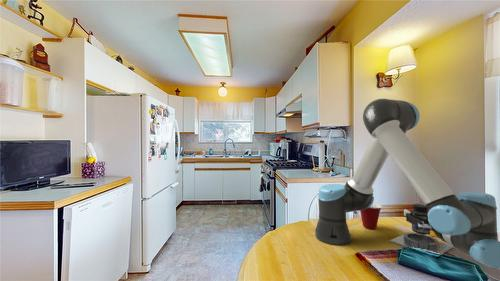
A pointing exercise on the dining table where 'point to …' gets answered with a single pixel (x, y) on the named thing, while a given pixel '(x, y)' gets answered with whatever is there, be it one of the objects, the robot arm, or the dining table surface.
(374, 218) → the plastic cup
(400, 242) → the duct plate
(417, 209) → the pill bottle
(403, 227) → the dining table surface
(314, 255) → the dining table surface
